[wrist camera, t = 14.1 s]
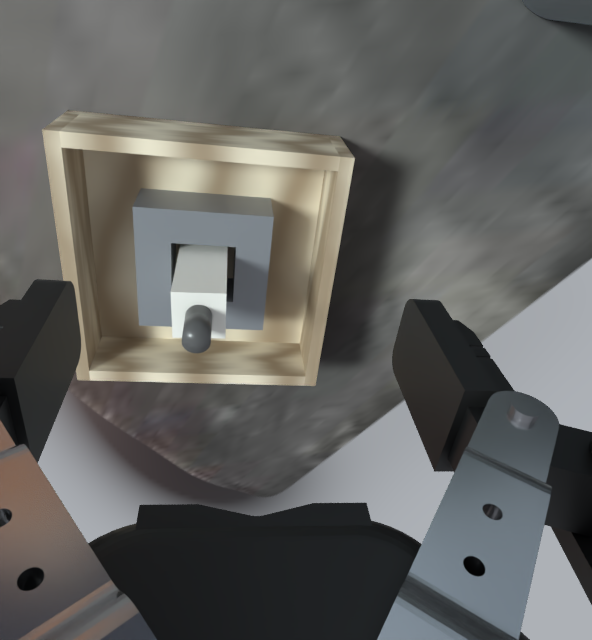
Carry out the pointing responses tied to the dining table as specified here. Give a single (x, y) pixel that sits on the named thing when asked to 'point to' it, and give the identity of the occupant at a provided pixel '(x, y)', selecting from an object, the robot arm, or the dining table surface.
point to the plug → (199, 296)
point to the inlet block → (202, 229)
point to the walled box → (119, 249)
